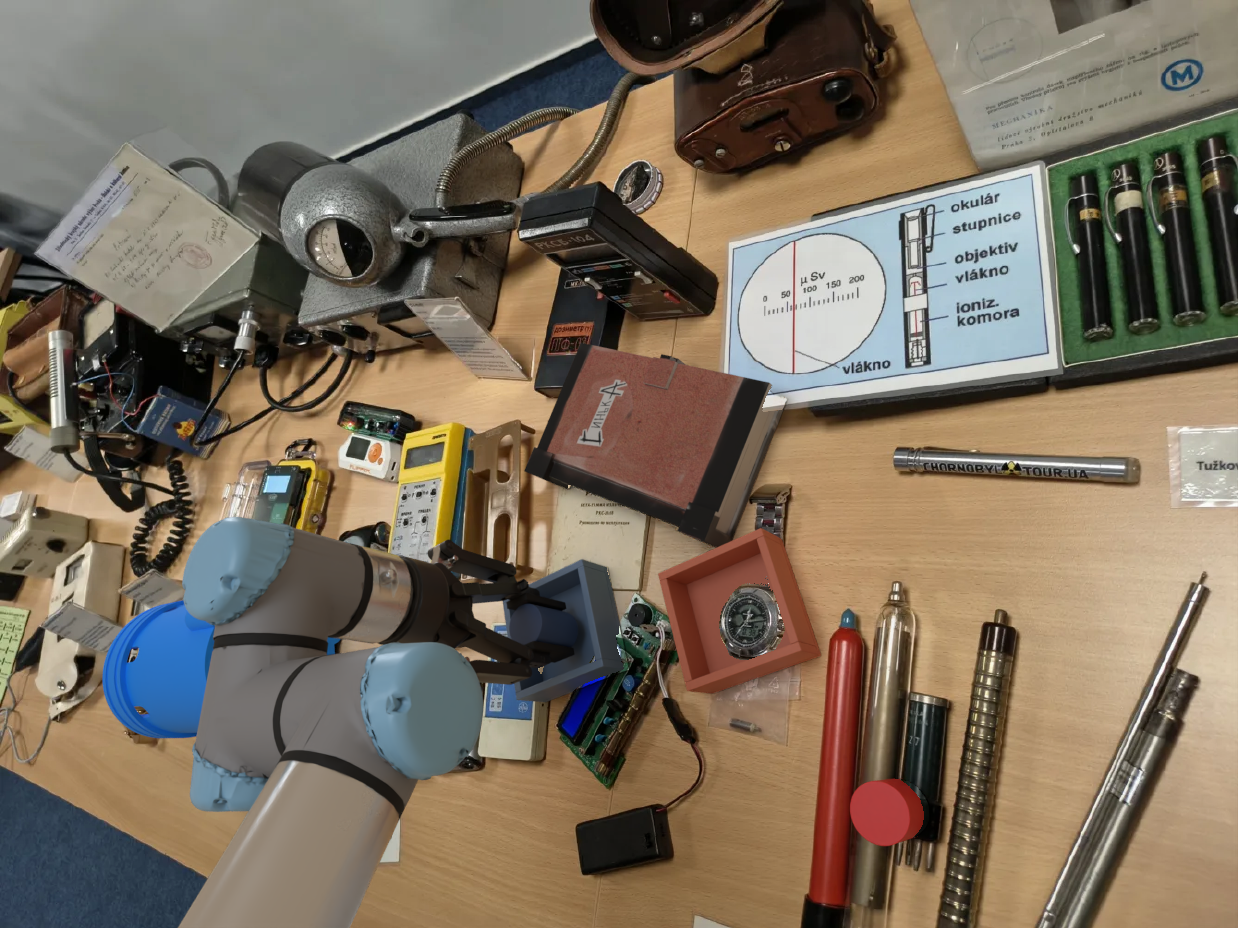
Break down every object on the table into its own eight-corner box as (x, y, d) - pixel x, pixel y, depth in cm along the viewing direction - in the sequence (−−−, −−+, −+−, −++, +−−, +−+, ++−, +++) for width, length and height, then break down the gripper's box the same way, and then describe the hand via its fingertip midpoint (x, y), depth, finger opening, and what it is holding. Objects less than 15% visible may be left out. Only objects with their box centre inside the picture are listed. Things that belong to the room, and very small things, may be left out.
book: (790, 392, 77) (770, 374, 74) (727, 551, 76) (704, 541, 72) (604, 352, 94) (580, 335, 90) (551, 482, 93) (524, 471, 89)
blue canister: (581, 645, 80) (544, 638, 75) (549, 658, 82) (512, 653, 77) (574, 606, 82) (538, 597, 77) (543, 619, 84) (506, 612, 79)
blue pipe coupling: (269, 658, 123) (187, 770, 110) (165, 570, 113) (60, 681, 99) (368, 647, 110) (289, 773, 97) (260, 546, 100) (155, 670, 86)
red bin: (821, 655, 68) (801, 650, 64) (711, 694, 73) (686, 691, 69) (782, 538, 73) (761, 527, 70) (682, 581, 78) (657, 573, 74)
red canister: (939, 831, 59) (919, 838, 54) (885, 843, 61) (862, 851, 56) (917, 772, 61) (896, 774, 56) (865, 785, 63) (841, 788, 58)
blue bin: (630, 669, 79) (603, 665, 75) (545, 702, 84) (516, 700, 80) (607, 567, 84) (581, 558, 80) (529, 603, 89) (501, 596, 85)
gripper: (425, 688, 58) (603, 703, 76) (409, 489, 66) (572, 545, 84) (361, 716, 61) (546, 724, 79) (353, 523, 69) (522, 570, 87)
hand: (559, 632), depth 81 cm, fingers closed on blue canister, 4 cm apart
